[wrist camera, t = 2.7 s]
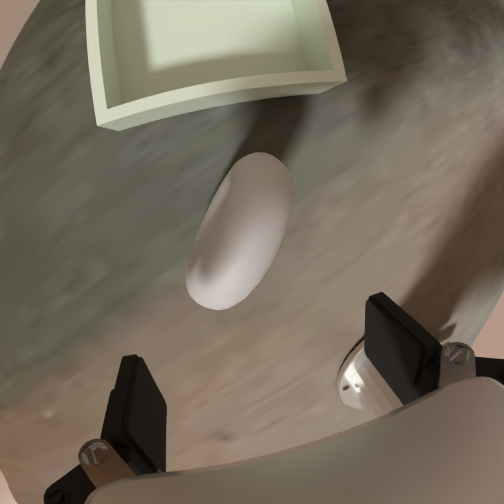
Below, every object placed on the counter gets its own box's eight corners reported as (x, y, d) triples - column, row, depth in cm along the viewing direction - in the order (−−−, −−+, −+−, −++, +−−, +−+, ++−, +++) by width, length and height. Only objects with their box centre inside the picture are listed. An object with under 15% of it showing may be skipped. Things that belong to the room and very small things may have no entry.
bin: (280, -51, 16) (294, -80, 11) (319, 93, 21) (347, 81, 16) (103, -23, 14) (87, -51, 9) (119, 131, 19) (97, 125, 15)
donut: (220, 277, 24) (233, 352, 15) (181, 261, 23) (170, 330, 14) (277, 165, 22) (330, 174, 13) (237, 144, 21) (263, 137, 12)
